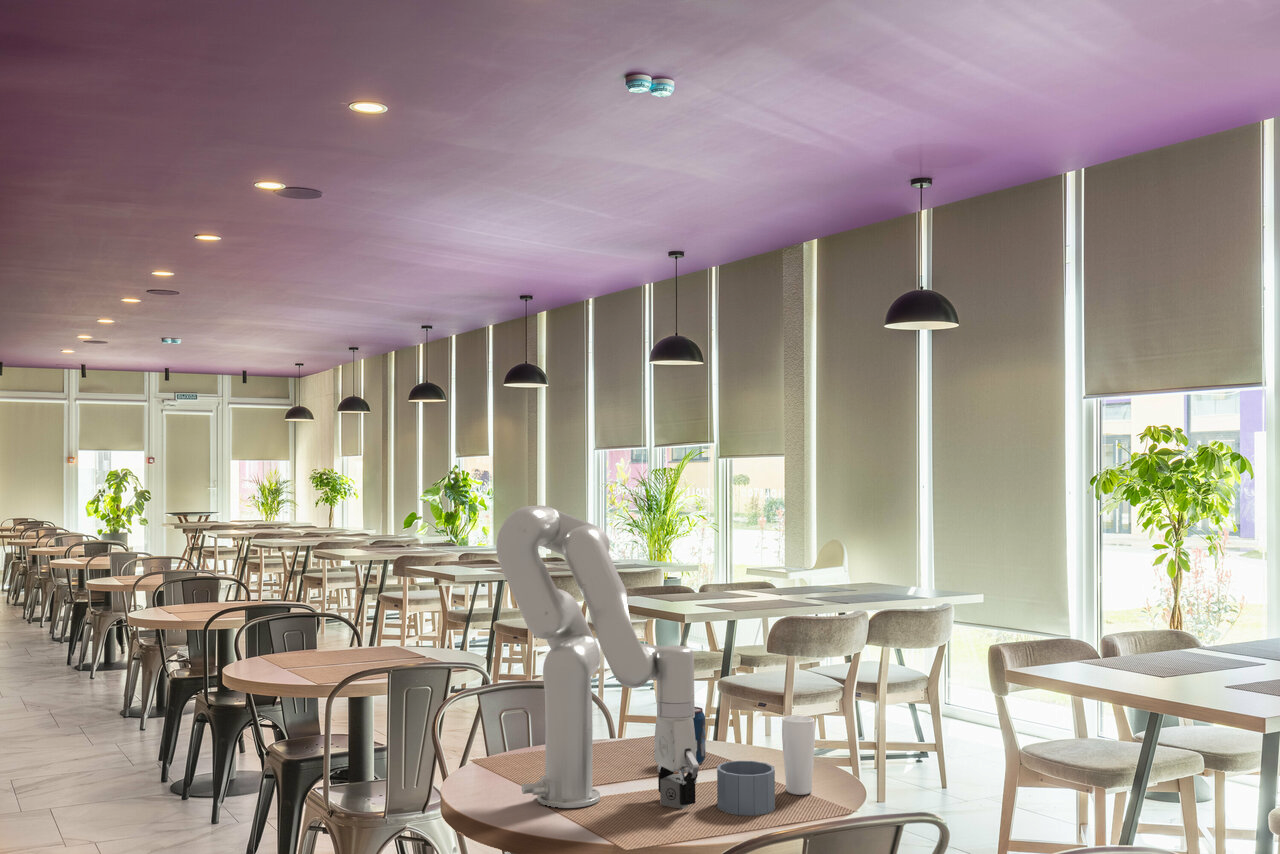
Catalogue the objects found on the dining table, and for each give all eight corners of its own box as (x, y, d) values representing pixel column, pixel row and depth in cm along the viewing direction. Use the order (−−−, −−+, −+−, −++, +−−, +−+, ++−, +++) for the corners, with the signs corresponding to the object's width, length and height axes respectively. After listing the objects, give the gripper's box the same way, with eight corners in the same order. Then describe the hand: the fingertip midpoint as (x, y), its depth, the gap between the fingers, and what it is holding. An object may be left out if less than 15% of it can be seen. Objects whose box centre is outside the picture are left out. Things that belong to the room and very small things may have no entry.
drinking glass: (819, 790, 219) (818, 716, 220) (810, 798, 213) (809, 723, 214) (787, 786, 222) (787, 713, 223) (778, 794, 216) (777, 720, 217)
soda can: (673, 758, 245) (673, 706, 246) (702, 757, 246) (702, 705, 246) (677, 766, 238) (677, 712, 239) (707, 765, 239) (707, 711, 239)
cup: (735, 818, 200) (735, 778, 201) (707, 802, 210) (707, 764, 211) (785, 810, 205) (785, 771, 205) (755, 795, 215) (755, 758, 215)
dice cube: (682, 809, 206) (681, 783, 207) (660, 805, 209) (660, 779, 209) (694, 802, 210) (694, 777, 211) (673, 798, 213) (673, 773, 213)
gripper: (640, 703, 216) (641, 789, 215) (678, 719, 200) (679, 812, 199) (672, 700, 219) (673, 784, 218) (713, 715, 204) (714, 807, 203)
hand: (676, 797), depth 209 cm, fingers open, 8 cm apart
